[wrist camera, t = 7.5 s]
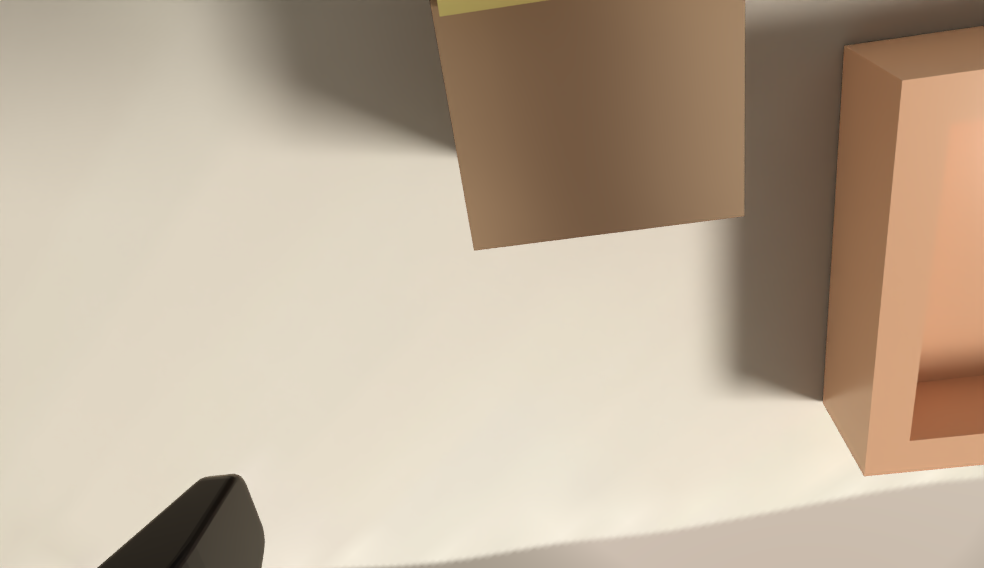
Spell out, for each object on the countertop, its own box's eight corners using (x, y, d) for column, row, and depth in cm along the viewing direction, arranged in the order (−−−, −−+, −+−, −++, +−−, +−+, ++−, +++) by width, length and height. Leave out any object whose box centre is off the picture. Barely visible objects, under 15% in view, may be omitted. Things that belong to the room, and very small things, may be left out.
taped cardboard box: (682, -101, 17) (759, -76, 12) (689, 130, 19) (756, 235, 14) (445, -63, 17) (419, -23, 12) (481, 158, 19) (473, 270, 14)
